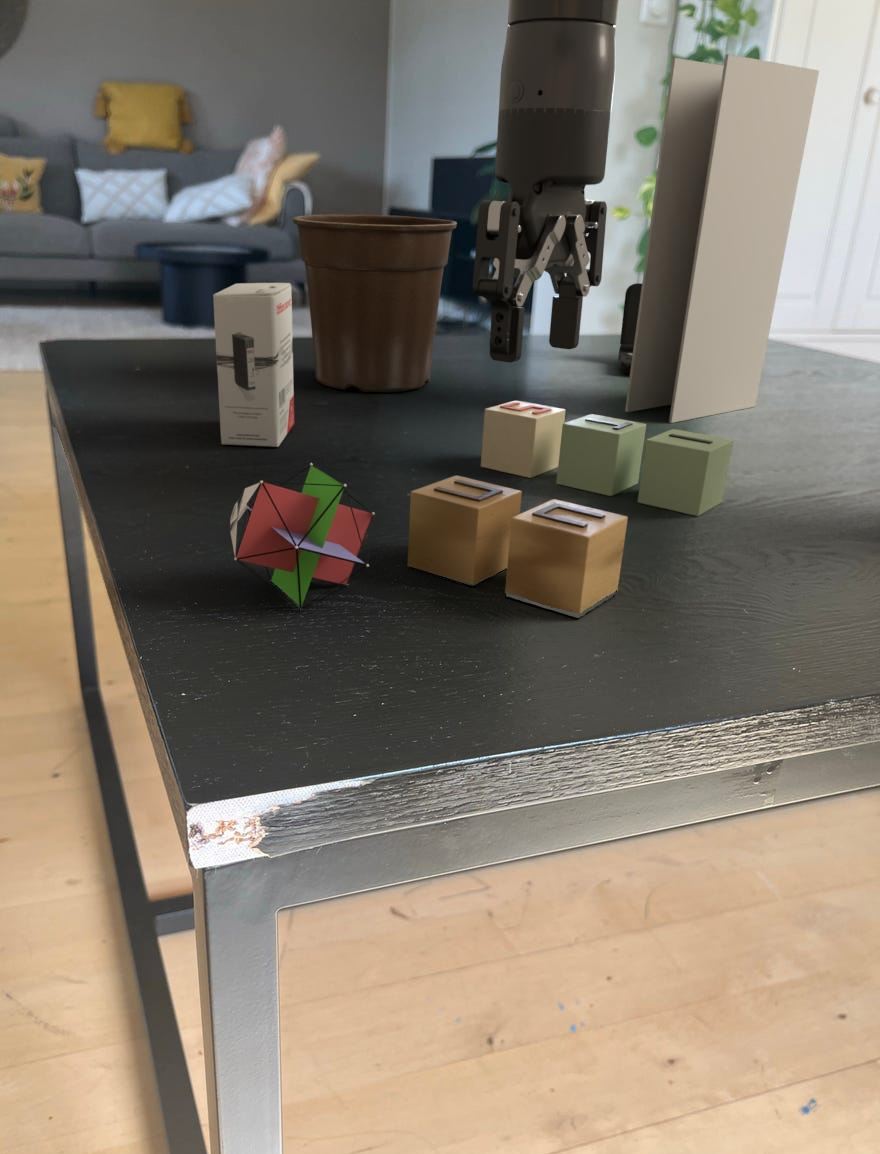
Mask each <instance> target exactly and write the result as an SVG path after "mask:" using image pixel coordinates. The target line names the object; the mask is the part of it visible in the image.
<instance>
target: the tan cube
mask: <svg viewBox="0 0 880 1154" xmlns="http://www.w3.org/2000/svg"><path fill="white" fill-rule="evenodd" d="M522 493H523V491H522V490H519V489H514V488H511V487H507V486H504V485H503V486H502V485H498V484H494V483H490V482H487V481H486V482H485V481H482V480H477V479H473V478H469V477H466V476H461V475H453V476H450V477H447V478H445V479H442V480H439V481H436V482H433V483H430V484H428V485H425V486H422V487H420V488H417V489H414V490H411V491H410V498H409V499H410V503H409V521H408V524H409V525H408V547H407V548H408V550H407V567H408V566H409V567H414V568H417V569H420V570H425V571H427V572H430V573H435V574H438V575H441V576H444V577H449V578H452V579H455V580H458V581H461V582H467V583H470V584H475V583H477V582H479V581H480V580H483V579H485V578H487V577H489V576H491V575H492V574H496V573H497V572H499V571H502V570H504V569H505V568H507V564H508V553H509V542H510V531H511V520H512V517H514V516H517V515H519V514H521V508H522V507H521V506H522V505H521V504H522V496H523V495H522ZM409 567H408V568H409Z"/></svg>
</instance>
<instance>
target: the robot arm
mask: <svg viewBox="0 0 880 1154" xmlns="http://www.w3.org/2000/svg"><path fill="white" fill-rule="evenodd" d="M618 8H619V0H508V13H507V14H508V15H507V29H506V38H505V44H504V49H503V55H502V59H501V60H502V61H501V67H500V69H501V70H500V85H499V100H498V115H497V116H498V117H497V118H498V119H497V134H496V153H495V171H494V175H495V178H496V180H497V181H498V182H500V183H502V184H503V183H504V184H509V193H508V194H509V195H508V199H507V201H506V200H482V201H481V202H480V205H479V206H478V216H477V229H476V240H475V251H474V252H475V253H474V255H475V256H474V263H473V265H474V266H473V277H472V293H473V295H474V296H475V297H482V298H484V299H486V301H487V303H488V304H490V306H491V313H490V314H491V316H490V333H489V336H490V337H489V357H490V358H491V360H492V361H497V362H504V363H515V362H518V361H520V360H521V357H522V348H523V336H524V323H525V310H526V309H525V307H523V306H524V304H525V302H526V299H527V297H528V294H529V292H530V290H531V287H532V286H533V285H532V284H533V283H534V282H535V281H538V280H539V279H541V277H542V276H543V274H544V272H546V273H547V274H549V277H550V281H551V285H552V288H553V292H554V294H555V295H556V296H552V302H551V312H550V326H549V337H548V343H549V345H550V347H552V348H555V349H561V350H562V349H563V350H572V349H575V348H577V347H578V346H579V343H580V332H581V322H582V312H583V301H584V298H585V297H587V296H588V295H589V293H590V289H591V287H599V286H600V284H601V282H602V276H603V275H602V274H603V263H604V249H605V238H606V236H605V234H606V227H607V226H606V224H607V214H608V213H607V211H608V207H607V205H608V204H607V203H606V201H604V200H603V201H602V200H600V201H599V200H592V199H591V200H589V199H586V198H585V188H586V187H587V186H597V185H600V184H601V183H602V182H603V181H604V179H605V176H606V168H607V167H606V166H607V157H608V148H609V147H608V146H609V137H610V126H611V117H612V107H613V97H614V88H615V77H616V28H615V27H616V26H617V19H618V10H619V9H618ZM492 259H493V262H492V265H493V267H494V268H495V271H494V274H493V276H492V278H491V277H490V267H491V260H492ZM588 264H589V268H587V266H588ZM514 279H516V282H515V283H514Z"/></svg>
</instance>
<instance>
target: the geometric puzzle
mask: <svg viewBox="0 0 880 1154" xmlns="http://www.w3.org/2000/svg"><path fill="white" fill-rule="evenodd" d="M303 468H304V469H303ZM308 468H309V470H308V473H307V476H306V478H305V481H304V482H289V481H290V480H292V479H293V478H295V477H296V476H298V475H299V474H301V473H302V472H304V471H305V470H307V469H308ZM301 469H302V470H301ZM298 470H301V471H299V472H298V473H296V474H295V475H293V476H291V477H290V478H289V479H287V480H286V481H283V482H282V481H268V480H272V479H274V478H278V477H280V476H284V475H287V474H289V473H292V472H294V471H298ZM275 484H280V485H279V486H278V485H275ZM286 484H287V485H303V487H302V490H301V492H299V491H295V490H292V489H289V488H285V487H282V486H283V485H286ZM348 491H349V492H350V493H351V494H352V495H353V496H352V495H351V494H349V493H348ZM343 493H345V494H346V497H347V500H348V504H349V506H347V505H344V504H341V503H340V501H341V498H342V496H343ZM255 495H256V496H255ZM240 496H241V497H240V501H239V500H237V501H236V502H235V504H234V506H233V509H232V511H231V515H230V521H229V534H230V538H231V539H230V540H231V545H232V550H233V555H234V558H233V560H234V561H237V562H238V563H239V564H240V565H242V566H243V567H244V568H245V569H247V570H248V571H250V572H251V573H252V574H254V575H255V576H256V577H258V578H259V579H260V580H261V581H263V582H264V583H265V584H267V585H268V586H269V587H270V588H272V589H273V590H274V591H276V592H277V593H278V594H280V595H281V596H282V597H284V598H285V599H286V600H287V601H288V602H290V603H292V604H293V605H294V606H296V608H298V606H297V605H295V604H294V603H293V602H292V601H291V600H290V599H289V598H288V597H286V596H285V595H284V594H283V593H282V592H281V591H278V590H277V589H275V588H274V587H273V586H272V585H270V584H269V583H268V582H270V581H272V582H273V583H274V584H275V585H277V586H278V587H279V588H280V589H282V590H283V592H285V593H286V594H287V595H288V596H289V597H290V598H292V599H293V600H294V601H295V602H296V603H297V604H298V605H299V606H300V608H303V609H305V608H306V606H307V605H308V606H310V605H311V603H312V604H313V602H315V601H316V600H318V599H320V598H322V597H323V596H325V595H326V594H327V593H329V592H330V591H332V590H333V589H334V588H337V587H338V586H340V585H339V584H345V583H348V584H347V585H348V586H349V584H350V583H351V582H352V581H353V580H354V578H352V579H351V580H350V578H351V577H353V576H354V575H355V576H356V574H361V572H363V571H364V570H365V569H366V568H368V567H370V564H369V561H370V555H368V558H367V556H366V551H365V548H364V545H363V543H364V540H365V537H366V535H367V532H368V530H369V526H370V524H371V522H372V521H373V519H374V518H373V517H374V516H375V514H376V513H375V512H374V511H371V510H370V509H369V508H368V507H367V506H366V505H365V504H364V503H363V502H362V501H361V500H360V499H359V498H358V497H357V496H356V495H355V494H354V493H353V492H352V491H351V490H350V489H349V487H348V486H347V484H346V483H342V482H340V481H339V480H337V479H335V478H334V477H332V476H331V475H329V474H328V473H326V472H324V471H322V470H321V469H319V468H318V467H316V466H315V465H314V464H313V463H312V462H310V463H309V465H305V466H303V467H300V468H297V469H294V470H291V471H288V472H286V473H282V474H279V475H276V476H274V477H270V478H267V479H265V480H259V482H257V483H254V484H251V485H249V486H246V487H244V489H243V491H242V492H241V494H240ZM254 497H255V498H254ZM354 497H355V498H356V499H357V500H356V499H355V498H354ZM350 498H351V499H352V500H354V501H355V502H357V503H358V504H359V505H360V506H361V507H363V508H364V509H365V510H363V509H358V508H354V507H353V506H352V503H351V500H350ZM250 499H251V501H250ZM253 499H254V501H253ZM252 501H253V503H252ZM248 503H249V504H248ZM251 503H252V504H251ZM245 512H246V513H245ZM244 514H245V517H244V521H243V525H242V528H241V529H242V530H241V533H240V537H239V542H238V546H237V532H238V522H239V521H240V519H241V518H242V516H243V515H244ZM247 514H248V515H249V517H248V519H247V523H246V526H245V522H246V518H247ZM244 526H245V528H244ZM372 530H373V524H371V526H370V531H372ZM243 531H244V532H243ZM369 537H370V538H369V542H371V541H372V540H371V539H372V534H370V536H369ZM361 549H362V552H363V553H362V554H363V555H364V560H365V562H364V561H363V560H362V559H360V558H359V557H358V556H359V553H360V551H361ZM370 549H371V545H369V546H368V552H370V551H371V550H370ZM243 562H245V563H250V564H254V565H258V566H262V567H265V569H266V574H267V577H268V578H267V577H265V576H264V575H262V574H260V573H259V572H258V571H256V570H254V569H253V568H251V567H250V566H248V565H247V564H245V563H243ZM356 564H358V565H361V566H364V567H362V568H361V569H359V570H357V571H356V572H355V573H353V570H354V567H355V565H356ZM268 568H271V569H274V570H273V574H272V577H270V573H269V570H268ZM352 573H353V574H352ZM263 578H264V579H266V580H267V581H268V582H267V581H266V580H264V579H263ZM313 578H314V579H317V580H322V581H326V582H331V583H334V584H338V585H334V586H333V587H331V588H330V589H328V590H327V591H325V592H324V593H322V594H321V595H319V596H318V597H316V598H315V599H313V600H312V601H310V602H309V603H307V604H305V605H304V602H305V599H306V597H307V594H308V590H309V587H310V585H311V584H310V583H312V579H313ZM349 580H350V581H349ZM274 584H273V585H274ZM275 585H274V586H275ZM309 604H310V605H309ZM303 605H304V606H303ZM308 606H307V607H308ZM304 607H305V608H304Z"/></svg>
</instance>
